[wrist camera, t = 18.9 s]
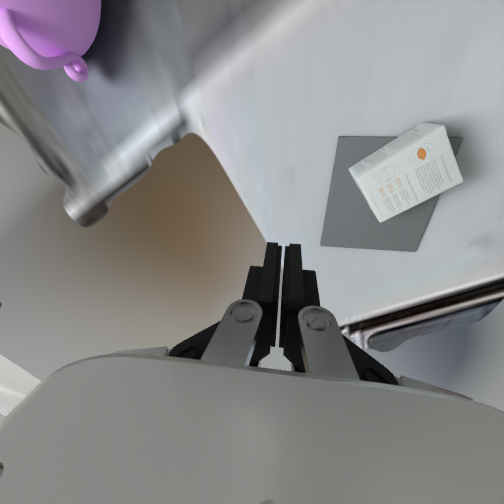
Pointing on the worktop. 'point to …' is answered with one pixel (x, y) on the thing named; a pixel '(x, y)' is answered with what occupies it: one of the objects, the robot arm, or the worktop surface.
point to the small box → (407, 171)
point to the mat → (358, 211)
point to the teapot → (50, 32)
